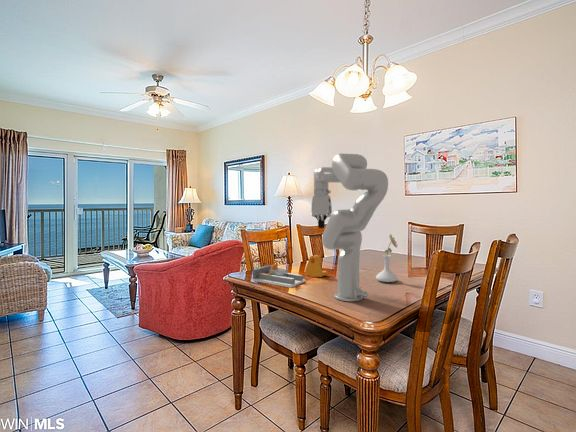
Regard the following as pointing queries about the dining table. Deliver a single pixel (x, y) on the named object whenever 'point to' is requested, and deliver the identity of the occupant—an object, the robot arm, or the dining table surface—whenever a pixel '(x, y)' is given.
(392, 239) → the flower in vase
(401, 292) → the dining table surface
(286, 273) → the gauge carriage
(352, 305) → the dining table surface
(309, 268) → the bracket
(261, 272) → the scale board
